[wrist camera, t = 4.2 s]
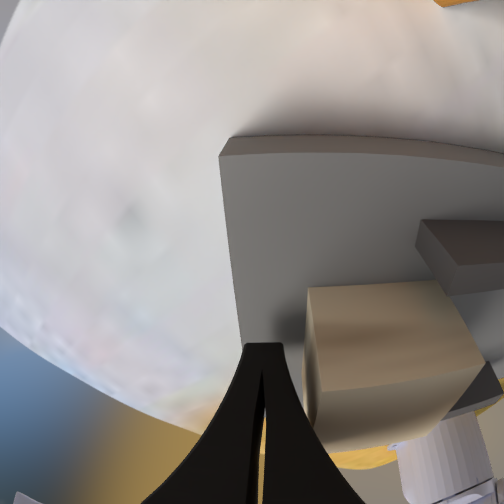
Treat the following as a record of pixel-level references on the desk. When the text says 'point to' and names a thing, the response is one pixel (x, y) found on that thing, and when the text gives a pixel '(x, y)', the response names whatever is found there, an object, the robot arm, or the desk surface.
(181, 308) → the desk surface
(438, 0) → the small box
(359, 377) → the maple block
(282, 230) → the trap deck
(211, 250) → the desk surface
